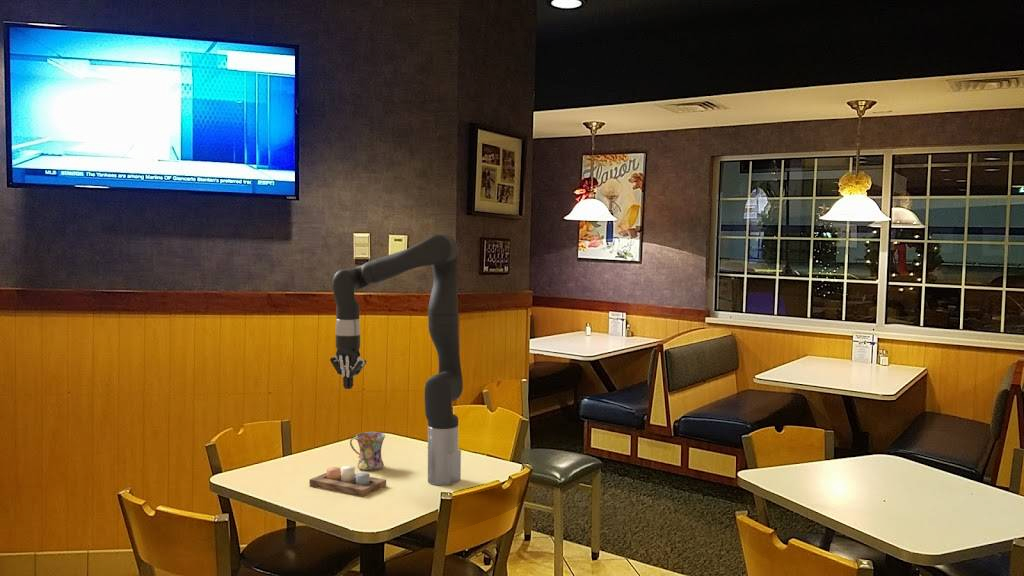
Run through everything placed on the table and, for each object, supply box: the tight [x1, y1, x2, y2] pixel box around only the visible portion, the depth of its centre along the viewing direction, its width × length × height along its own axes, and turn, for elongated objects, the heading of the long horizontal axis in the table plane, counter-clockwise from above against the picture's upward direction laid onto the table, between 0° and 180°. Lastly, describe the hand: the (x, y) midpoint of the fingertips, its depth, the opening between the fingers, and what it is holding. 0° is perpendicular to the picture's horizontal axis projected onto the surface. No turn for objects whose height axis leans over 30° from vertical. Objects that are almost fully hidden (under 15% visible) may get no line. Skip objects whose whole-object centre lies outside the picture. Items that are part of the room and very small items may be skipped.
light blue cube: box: [355, 472, 371, 486], centre depth 234 cm, size 4×4×4 cm
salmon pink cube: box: [326, 466, 341, 480], centre depth 239 cm, size 4×4×4 cm
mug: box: [349, 431, 386, 471], centre depth 256 cm, size 12×9×11 cm
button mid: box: [340, 465, 356, 483], centre depth 237 cm, size 4×4×4 cm
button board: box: [308, 470, 387, 498], centre depth 237 cm, size 20×11×2 cm, turn 62°
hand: (348, 388), depth 248 cm, fingers closed
